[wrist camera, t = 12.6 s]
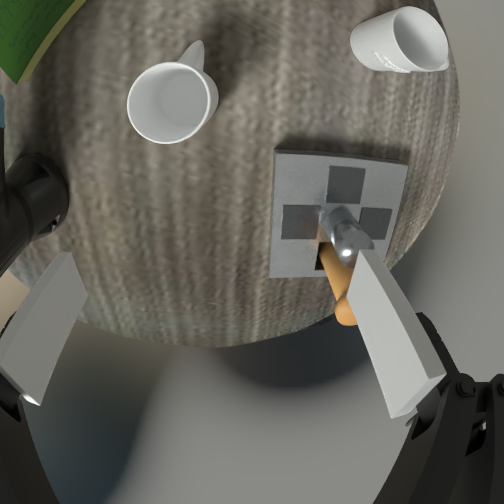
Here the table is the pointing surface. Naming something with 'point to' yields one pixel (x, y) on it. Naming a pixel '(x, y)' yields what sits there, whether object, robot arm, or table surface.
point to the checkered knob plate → (330, 208)
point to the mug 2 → (401, 42)
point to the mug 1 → (173, 98)
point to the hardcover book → (30, 32)
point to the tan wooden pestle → (337, 282)
